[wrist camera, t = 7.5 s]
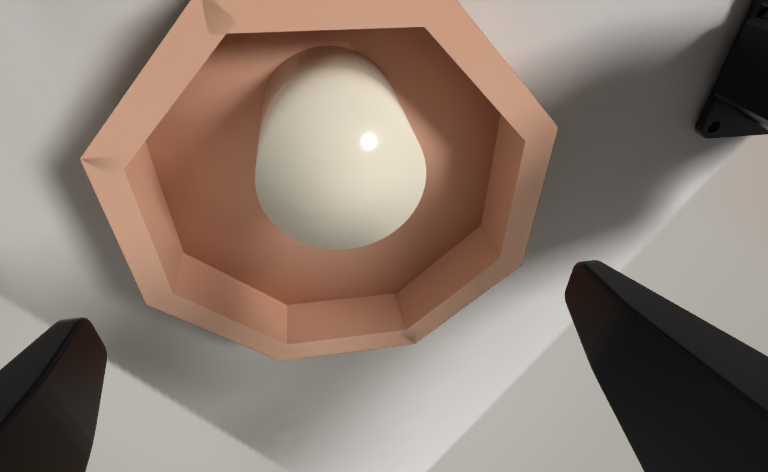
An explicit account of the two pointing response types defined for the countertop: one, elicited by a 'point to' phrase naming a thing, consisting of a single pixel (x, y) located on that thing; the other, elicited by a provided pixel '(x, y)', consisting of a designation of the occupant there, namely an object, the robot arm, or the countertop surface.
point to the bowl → (238, 164)
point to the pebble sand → (336, 151)
